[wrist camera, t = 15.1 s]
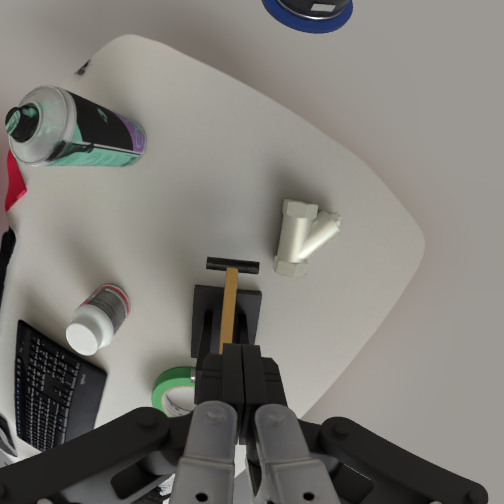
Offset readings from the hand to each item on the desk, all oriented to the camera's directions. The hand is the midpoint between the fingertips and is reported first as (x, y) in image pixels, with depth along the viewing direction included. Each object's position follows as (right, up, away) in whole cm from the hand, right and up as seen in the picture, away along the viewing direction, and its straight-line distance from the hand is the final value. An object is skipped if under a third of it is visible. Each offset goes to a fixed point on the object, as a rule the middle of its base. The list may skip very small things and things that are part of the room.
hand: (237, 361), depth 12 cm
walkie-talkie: (-23, -50, +36) cm, 66 cm away
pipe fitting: (+7, +7, +23) cm, 25 cm away
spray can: (-14, +17, +19) cm, 29 cm away
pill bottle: (-18, -2, +23) cm, 29 cm away
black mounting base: (-3, -5, +25) cm, 25 cm away
